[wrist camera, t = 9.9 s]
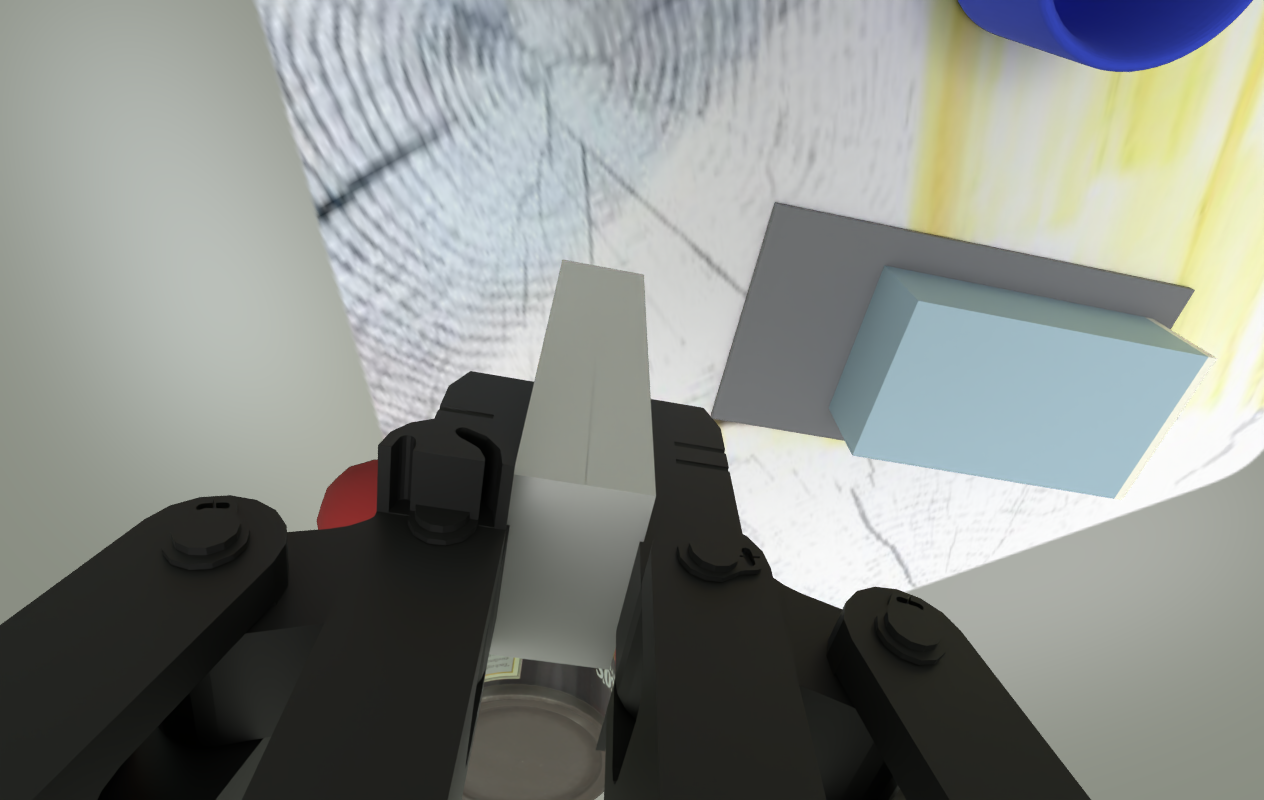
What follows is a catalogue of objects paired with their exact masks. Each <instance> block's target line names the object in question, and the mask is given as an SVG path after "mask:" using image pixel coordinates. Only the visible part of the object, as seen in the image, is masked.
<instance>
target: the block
mask: <svg viewBox="0 0 1264 800" xmlns="http://www.w3.org/2000/svg"><path fill="white" fill-rule="evenodd" d="M1216 360H1217V358H1216V357H1214V356H1212V355H1211V354H1209V353H1207V352H1206V351H1204V350H1203V349H1201V348H1199V347H1198V346H1196V345H1195V344H1193V343H1191V342H1190V341H1188V340H1187V339H1185V338H1183V337H1182V336H1180V335H1178V334H1177V333H1175V332H1174V331H1172V330H1170V329H1169V328H1167V327H1166V326H1164V325H1162V324H1161V323H1159V322H1157V321H1156V320H1154V319H1152V318H1147V317H1142V316H1137V315H1132V314H1127V313H1122V312H1117V311H1112V310H1106V309H1101V308H1096V307H1091V306H1086V305H1081V304H1076V303H1071V302H1066V301H1061V300H1056V299H1051V298H1046V297H1041V296H1036V295H1031V294H1026V293H1021V292H1016V291H1011V290H1006V289H1001V288H996V287H991V286H986V285H980V284H975V283H970V282H965V281H960V280H955V279H950V278H945V277H940V276H935V275H930V274H925V273H920V272H915V271H910V270H905V269H900V268H895V267H890V266H885V265H884V268H883V271H882V273H881V276H880V278H879V281H878V283H877V286H876V288H875V291H874V294H873V296H872V299H871V301H870V304H869V306H868V309H867V311H866V314H865V316H864V319H863V322H862V324H861V327H860V329H859V332H858V334H857V337H856V339H855V342H854V345H853V347H852V350H851V352H850V355H849V357H848V360H847V362H846V365H845V367H844V370H843V373H842V375H841V378H840V380H839V383H838V385H837V388H836V390H835V393H834V396H833V398H832V401H831V403H830V406H829V410H830V412H831V414H832V416H833V418H834V420H835V422H836V424H837V426H838V428H839V430H840V432H841V434H842V436H843V438H844V440H845V442H846V444H847V446H848V448H849V450H850V452H851V454H852V455H853V456H859V457H865V458H871V459H877V460H883V461H889V462H895V463H901V464H907V465H913V466H919V467H925V468H931V469H938V470H944V471H950V472H956V473H962V474H968V475H974V476H980V477H986V478H992V479H998V480H1004V481H1010V482H1016V483H1022V484H1028V485H1034V486H1040V487H1046V488H1053V489H1059V490H1065V491H1071V492H1077V493H1083V494H1089V495H1095V496H1101V497H1107V498H1113V499H1119V500H1123V498H1124V497H1125V495H1126V494H1127V492H1128V491H1129V489H1130V488H1131V486H1132V485H1133V483H1134V482H1135V480H1136V479H1137V477H1138V476H1139V474H1140V473H1141V471H1142V470H1143V468H1144V467H1145V465H1146V464H1147V462H1148V461H1149V460H1150V458H1151V457H1152V455H1153V454H1154V452H1155V451H1156V449H1157V448H1158V446H1159V445H1160V443H1161V442H1162V440H1163V439H1164V437H1165V436H1166V434H1167V433H1168V431H1169V430H1170V428H1171V427H1172V425H1173V424H1174V422H1175V421H1176V419H1177V418H1178V416H1179V415H1180V413H1181V412H1182V411H1183V409H1184V408H1185V406H1186V405H1187V403H1188V402H1189V400H1190V399H1191V397H1192V396H1193V394H1194V393H1195V391H1196V390H1197V388H1198V387H1199V385H1200V384H1201V382H1202V381H1203V379H1204V378H1205V376H1206V375H1207V373H1208V372H1209V370H1210V369H1211V367H1212V366H1213V364H1214V363H1215V362H1216Z"/></svg>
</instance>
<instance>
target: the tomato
mask: <svg viewBox="0 0 1264 800" xmlns="http://www.w3.org/2000/svg"><path fill="white" fill-rule="evenodd" d="M377 475H378V460H372V461H368V462H365V463H361V464H358V465H354V466H351V467H349V468H348V469H347V470H346V471H344V472H343V473H342V474H341V475H340V476H338V478H337V479H335V481H334V482H333V483H332V484H331V485H330V486H329V487H328V488H327V490H326V493H325V496H324V499H323V501H322V504H321V507H320V511H319V514H318V517H317V525H318V530H321V529H331V528H337V527H344V526H350V525H353V524H356V523H359V522H362V521H365V520H368V519H370V518H372V517H374V516H375V514H376V511H377Z"/></svg>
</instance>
